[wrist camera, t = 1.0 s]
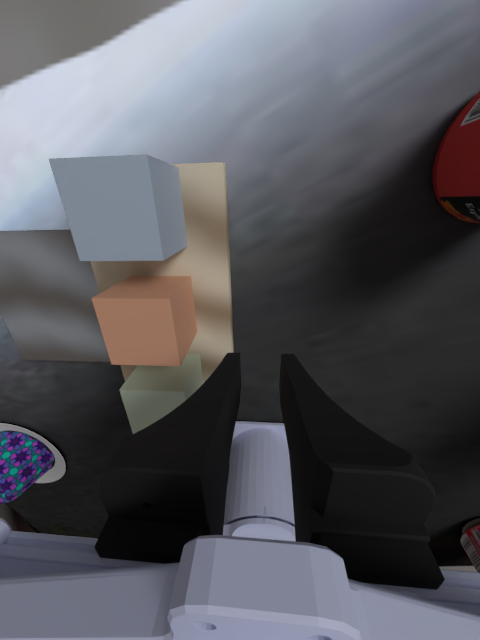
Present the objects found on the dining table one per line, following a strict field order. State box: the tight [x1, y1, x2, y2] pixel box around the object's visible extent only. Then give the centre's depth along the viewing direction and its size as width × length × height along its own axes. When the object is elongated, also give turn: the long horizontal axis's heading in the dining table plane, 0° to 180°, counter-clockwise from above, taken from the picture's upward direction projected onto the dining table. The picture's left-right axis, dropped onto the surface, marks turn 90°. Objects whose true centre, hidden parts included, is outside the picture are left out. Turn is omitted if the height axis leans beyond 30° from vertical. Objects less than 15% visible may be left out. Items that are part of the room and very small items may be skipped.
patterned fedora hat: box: [0, 423, 66, 504], centre depth 31 cm, size 12×12×5 cm
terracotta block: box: [91, 276, 197, 366], centre depth 18 cm, size 5×5×5 cm
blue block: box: [49, 155, 188, 261], centre depth 15 cm, size 5×5×5 cm
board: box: [0, 162, 234, 383], centre depth 21 cm, size 20×21×1 cm
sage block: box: [119, 354, 203, 434], centre depth 21 cm, size 5×5×5 cm
